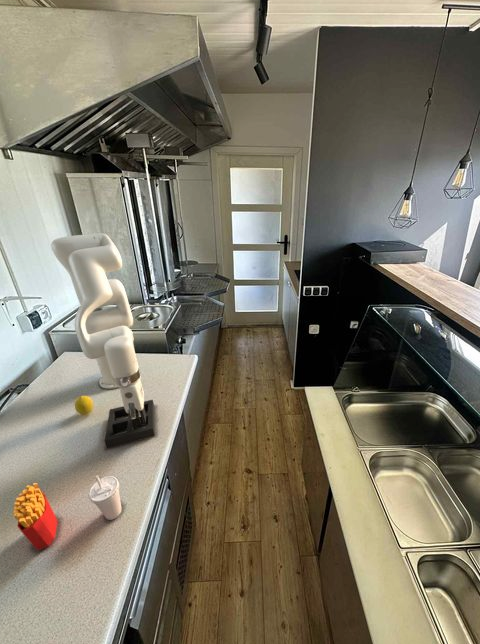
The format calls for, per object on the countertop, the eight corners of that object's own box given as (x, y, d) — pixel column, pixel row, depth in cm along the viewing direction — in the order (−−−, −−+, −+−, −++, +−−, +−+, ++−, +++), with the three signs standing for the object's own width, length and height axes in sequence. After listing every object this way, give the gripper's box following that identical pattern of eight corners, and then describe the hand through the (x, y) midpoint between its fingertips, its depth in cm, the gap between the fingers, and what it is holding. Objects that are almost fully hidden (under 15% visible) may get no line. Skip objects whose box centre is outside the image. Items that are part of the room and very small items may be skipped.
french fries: (53, 548, 66) (32, 514, 60) (31, 557, 64) (7, 524, 59) (59, 510, 73) (41, 477, 68) (40, 518, 72) (19, 485, 66)
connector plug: (133, 418, 96) (129, 404, 93) (146, 415, 97) (142, 401, 95) (132, 426, 93) (128, 413, 90) (145, 423, 94) (142, 409, 91)
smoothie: (107, 499, 76) (93, 463, 70) (131, 499, 76) (119, 464, 69) (94, 525, 70) (77, 489, 64) (119, 526, 70) (105, 490, 64)
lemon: (88, 420, 101) (81, 403, 98) (75, 418, 102) (67, 401, 99) (99, 409, 106) (93, 392, 102) (86, 407, 107) (80, 390, 103)
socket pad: (112, 416, 102) (109, 409, 101) (154, 406, 107) (152, 399, 105) (106, 448, 90) (104, 440, 89) (154, 436, 94) (152, 428, 93)
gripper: (139, 389, 81) (151, 435, 89) (140, 358, 95) (151, 400, 103) (109, 396, 78) (125, 442, 87) (116, 362, 93) (128, 405, 101)
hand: (139, 419), depth 95 cm, fingers closed on connector plug, 4 cm apart
